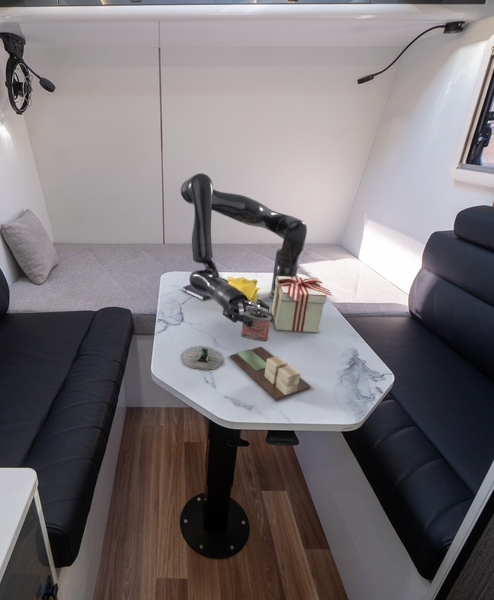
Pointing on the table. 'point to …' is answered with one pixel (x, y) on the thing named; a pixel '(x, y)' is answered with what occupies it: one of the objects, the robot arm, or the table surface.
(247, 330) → the lighter
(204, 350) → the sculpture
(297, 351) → the table surface
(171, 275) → the table surface
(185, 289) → the notebook
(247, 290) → the teapot
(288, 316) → the gift box
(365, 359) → the table surface
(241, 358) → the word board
